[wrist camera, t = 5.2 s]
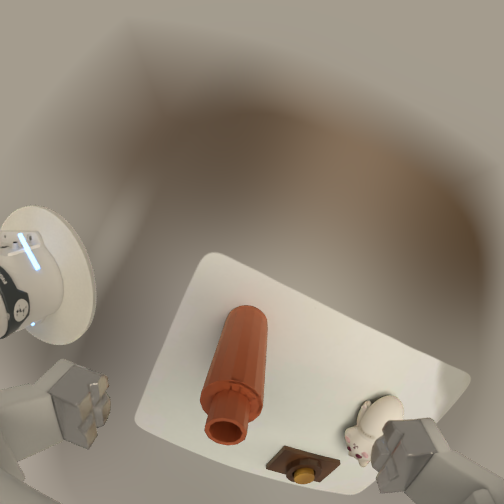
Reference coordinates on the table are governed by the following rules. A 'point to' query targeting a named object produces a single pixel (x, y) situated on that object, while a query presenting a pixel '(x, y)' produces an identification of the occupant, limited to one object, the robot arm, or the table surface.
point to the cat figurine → (371, 426)
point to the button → (304, 475)
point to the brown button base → (301, 463)
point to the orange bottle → (236, 376)
